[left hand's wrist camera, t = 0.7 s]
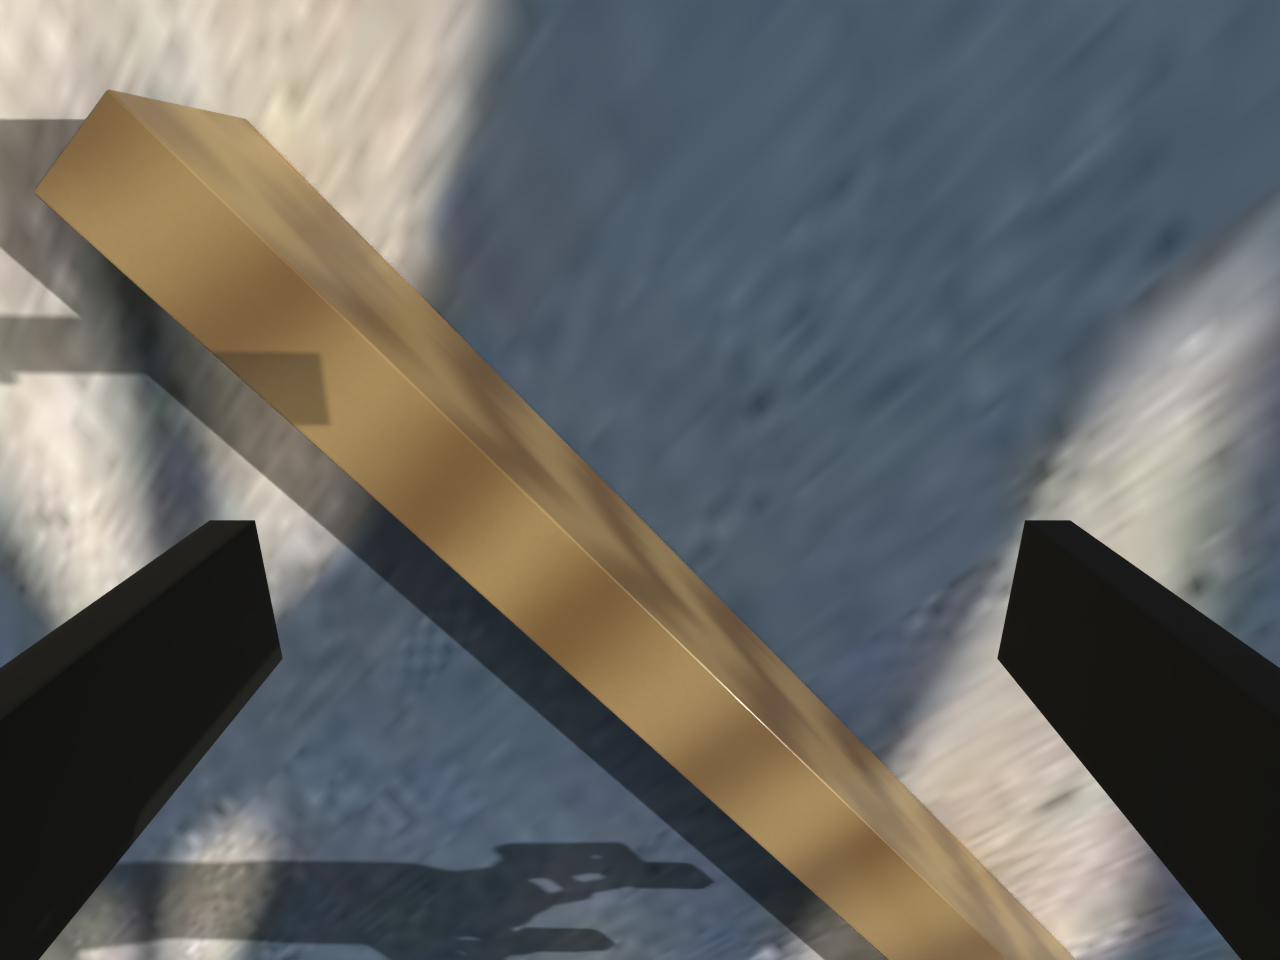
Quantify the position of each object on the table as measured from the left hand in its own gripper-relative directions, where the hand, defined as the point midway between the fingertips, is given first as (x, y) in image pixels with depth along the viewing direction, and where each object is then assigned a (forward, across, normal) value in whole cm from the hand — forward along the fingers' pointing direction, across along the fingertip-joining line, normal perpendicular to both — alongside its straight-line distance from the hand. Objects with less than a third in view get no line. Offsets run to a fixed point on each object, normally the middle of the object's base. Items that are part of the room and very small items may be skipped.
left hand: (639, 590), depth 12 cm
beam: (+23, +4, -16) cm, 28 cm away
